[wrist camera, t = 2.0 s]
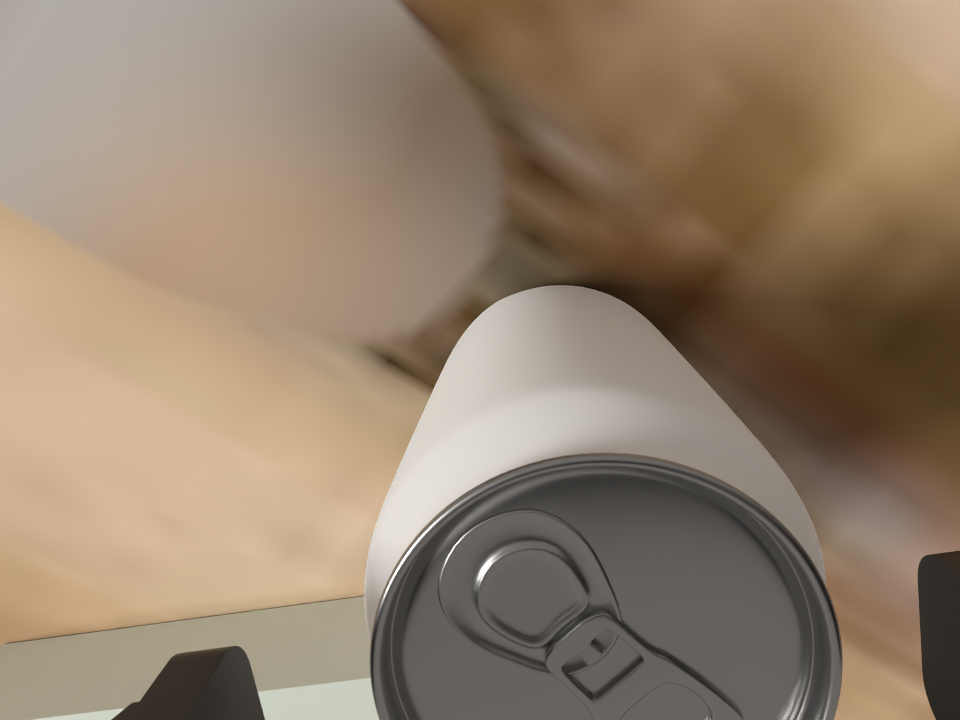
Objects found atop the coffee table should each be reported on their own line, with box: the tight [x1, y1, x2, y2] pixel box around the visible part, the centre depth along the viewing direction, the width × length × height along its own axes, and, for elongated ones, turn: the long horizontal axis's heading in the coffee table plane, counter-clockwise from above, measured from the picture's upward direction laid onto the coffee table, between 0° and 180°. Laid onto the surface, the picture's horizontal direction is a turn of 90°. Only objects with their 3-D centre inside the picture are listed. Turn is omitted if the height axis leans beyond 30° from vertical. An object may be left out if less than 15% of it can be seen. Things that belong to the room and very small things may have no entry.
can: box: [364, 285, 842, 720], centre depth 15 cm, size 6×6×12 cm
